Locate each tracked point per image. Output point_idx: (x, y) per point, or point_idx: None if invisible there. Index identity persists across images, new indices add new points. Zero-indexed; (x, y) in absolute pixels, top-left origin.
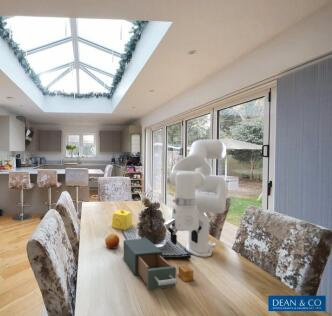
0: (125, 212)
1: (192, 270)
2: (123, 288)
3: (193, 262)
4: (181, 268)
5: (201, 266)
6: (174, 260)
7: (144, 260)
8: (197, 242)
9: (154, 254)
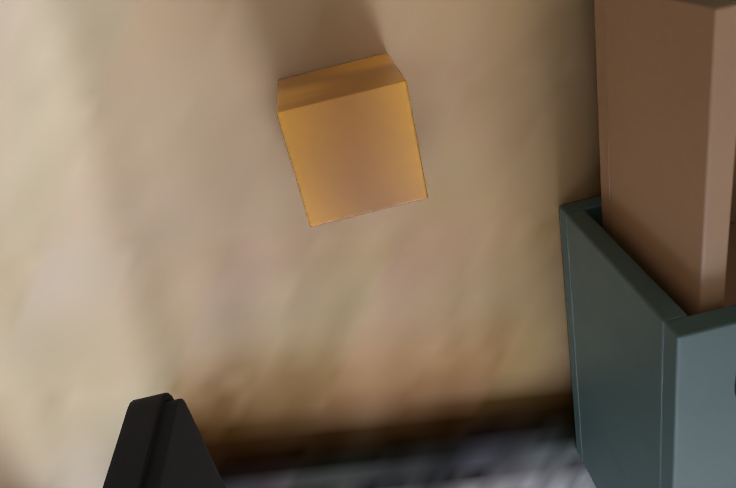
0: None
1: (286, 114)
2: None
3: None
4: (414, 152)
5: (81, 341)
6: (335, 413)
7: None
8: (132, 406)
9: None
